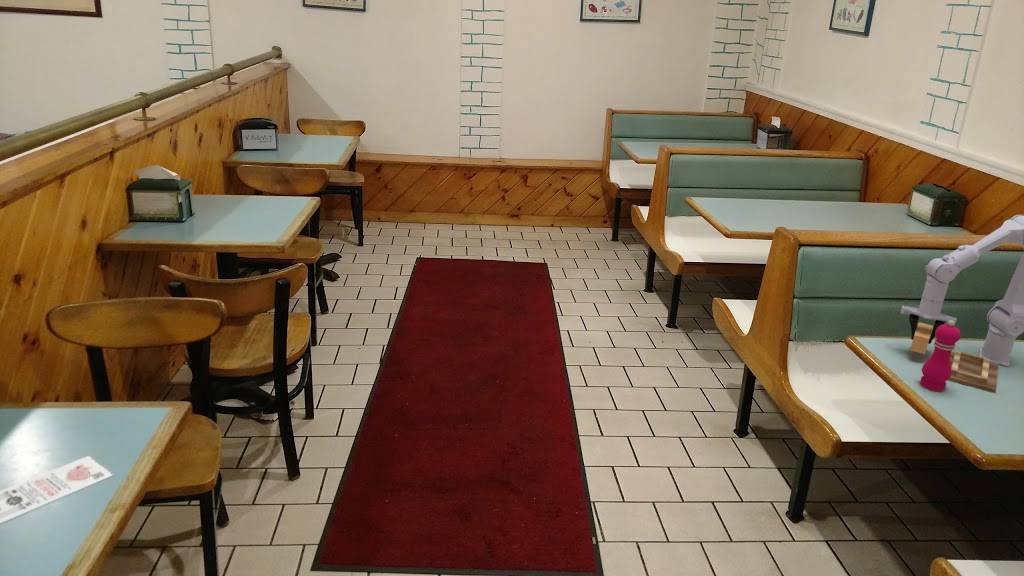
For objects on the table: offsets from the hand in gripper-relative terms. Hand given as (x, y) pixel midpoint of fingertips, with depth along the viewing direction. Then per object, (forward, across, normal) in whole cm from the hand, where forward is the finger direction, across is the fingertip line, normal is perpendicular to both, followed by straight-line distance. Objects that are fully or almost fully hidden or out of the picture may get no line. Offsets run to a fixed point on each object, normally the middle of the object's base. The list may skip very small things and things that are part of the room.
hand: (921, 340), depth 228 cm
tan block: (+2, 0, 0) cm, 2 cm away
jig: (+5, +14, -3) cm, 15 cm away
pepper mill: (+5, +6, -20) cm, 21 cm away
